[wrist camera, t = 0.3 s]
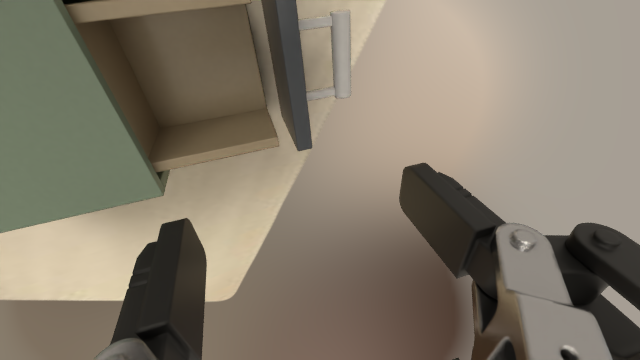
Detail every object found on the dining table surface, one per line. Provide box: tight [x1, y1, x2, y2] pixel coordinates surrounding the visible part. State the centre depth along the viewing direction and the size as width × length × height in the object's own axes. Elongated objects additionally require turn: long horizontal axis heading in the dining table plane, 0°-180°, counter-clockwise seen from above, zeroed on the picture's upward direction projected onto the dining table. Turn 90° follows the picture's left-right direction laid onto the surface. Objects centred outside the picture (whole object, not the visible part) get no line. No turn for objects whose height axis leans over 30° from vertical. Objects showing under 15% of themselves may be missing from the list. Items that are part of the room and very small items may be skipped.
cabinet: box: [0, 0, 170, 233], centre depth 18 cm, size 14×13×9 cm
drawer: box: [64, 0, 351, 172], centre depth 20 cm, size 17×11×7 cm
